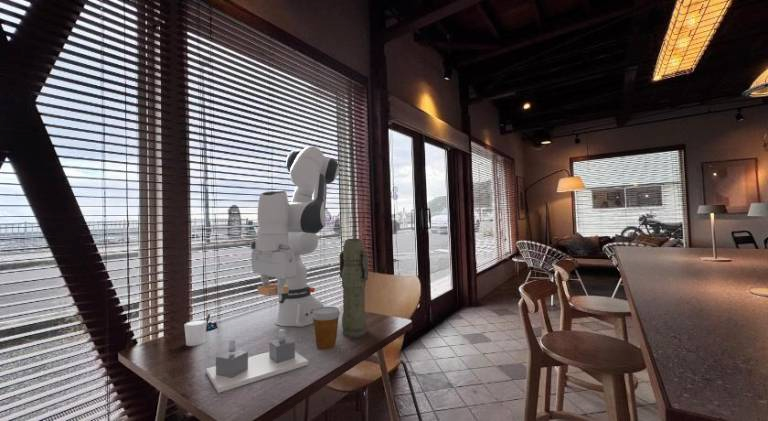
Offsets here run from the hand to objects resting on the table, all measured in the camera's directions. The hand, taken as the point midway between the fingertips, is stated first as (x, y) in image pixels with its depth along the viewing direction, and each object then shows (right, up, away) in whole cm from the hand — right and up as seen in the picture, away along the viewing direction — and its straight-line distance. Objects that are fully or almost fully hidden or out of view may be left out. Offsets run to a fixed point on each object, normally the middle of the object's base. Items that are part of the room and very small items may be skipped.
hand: (272, 291), depth 97 cm
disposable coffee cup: (+13, -22, +13) cm, 29 cm away
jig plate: (-3, -21, -3) cm, 22 cm away
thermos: (+22, -22, +25) cm, 40 cm away
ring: (0, -1, 0) cm, 1 cm away
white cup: (-33, -23, +18) cm, 44 cm away
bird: (-37, -24, +33) cm, 55 cm away
